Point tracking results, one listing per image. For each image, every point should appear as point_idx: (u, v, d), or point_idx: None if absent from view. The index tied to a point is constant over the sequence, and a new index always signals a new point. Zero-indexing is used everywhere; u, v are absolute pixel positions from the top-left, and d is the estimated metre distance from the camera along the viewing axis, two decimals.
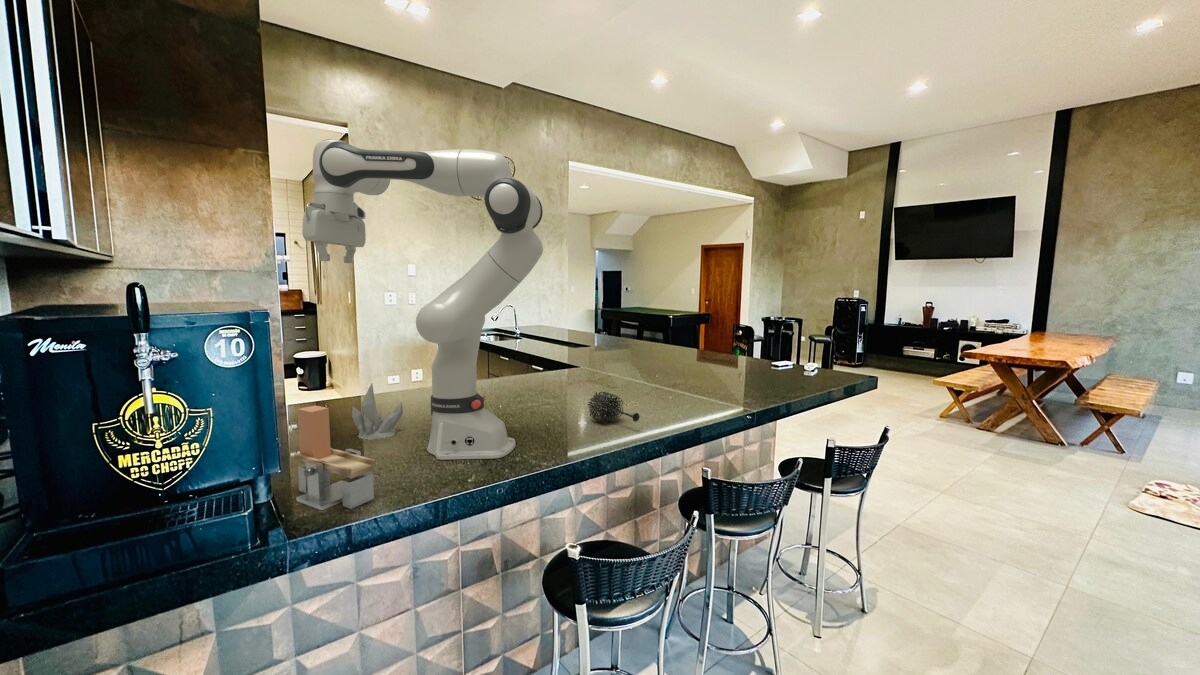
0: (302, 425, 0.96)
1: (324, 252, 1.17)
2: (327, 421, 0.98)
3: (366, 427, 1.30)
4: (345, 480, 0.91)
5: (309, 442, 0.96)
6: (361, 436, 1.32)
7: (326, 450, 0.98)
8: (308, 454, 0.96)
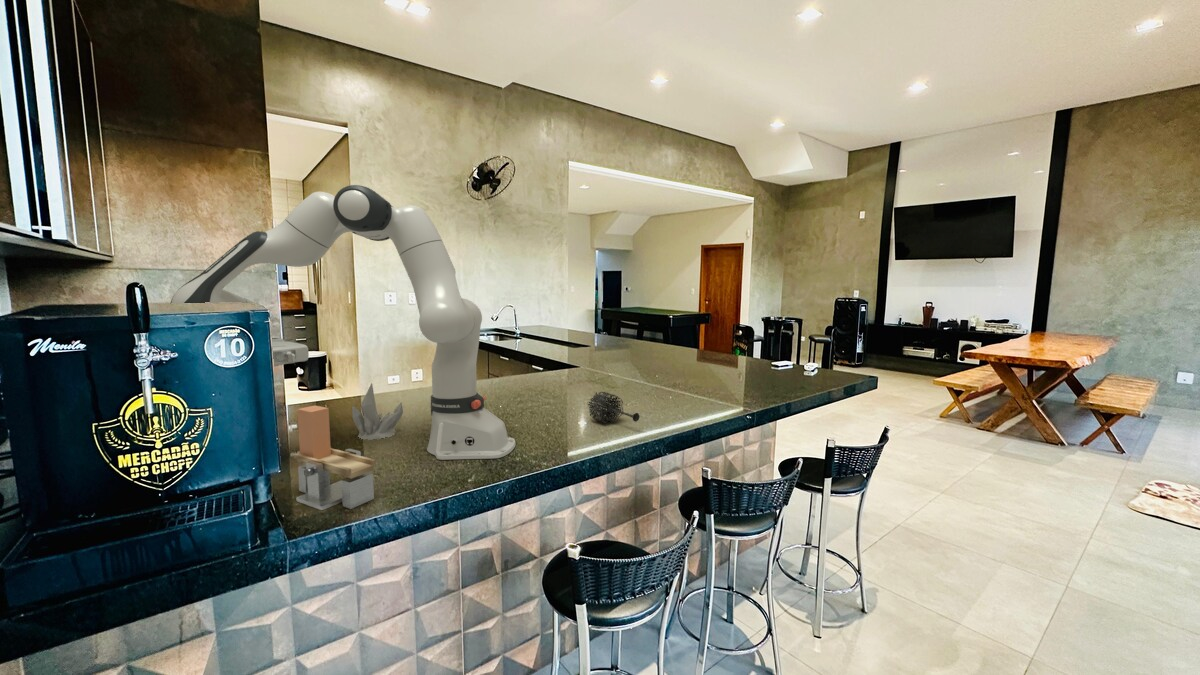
0: (302, 425, 0.96)
1: None
2: (327, 421, 0.98)
3: (366, 427, 1.30)
4: (345, 480, 0.91)
5: (309, 442, 0.96)
6: (361, 436, 1.32)
7: (326, 450, 0.98)
8: (308, 454, 0.96)
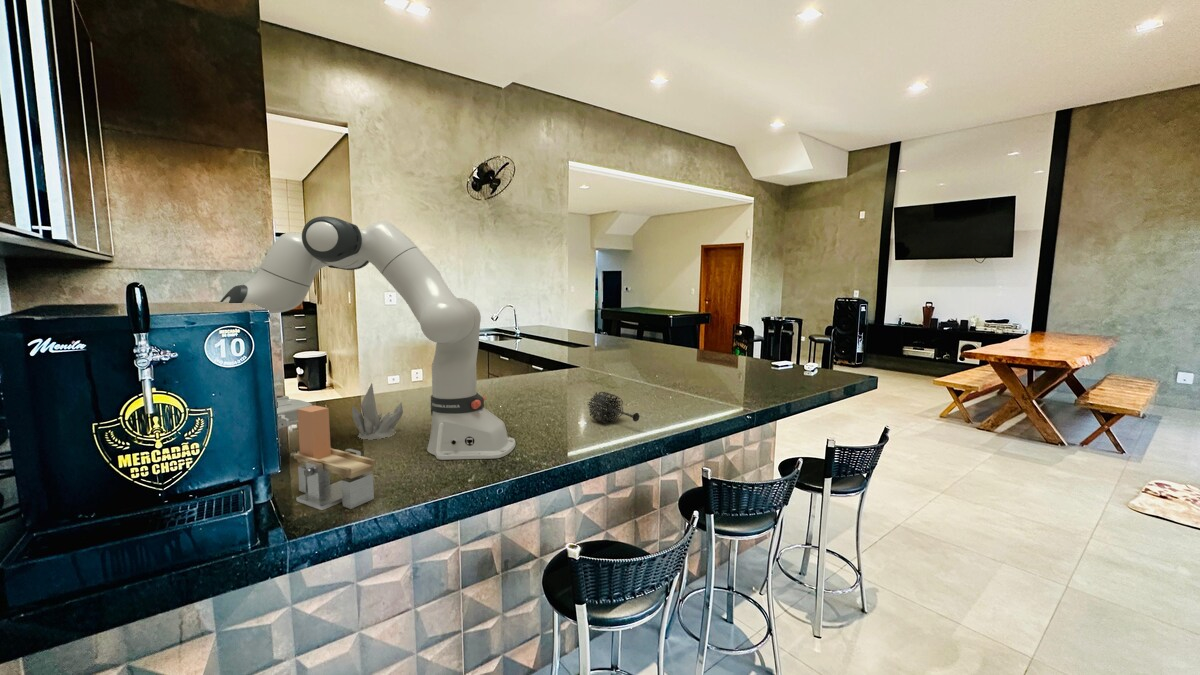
0: (302, 425, 0.96)
1: None
2: (327, 421, 0.98)
3: (366, 427, 1.30)
4: (345, 480, 0.91)
5: (309, 442, 0.96)
6: (361, 436, 1.32)
7: (326, 450, 0.98)
8: (308, 454, 0.96)
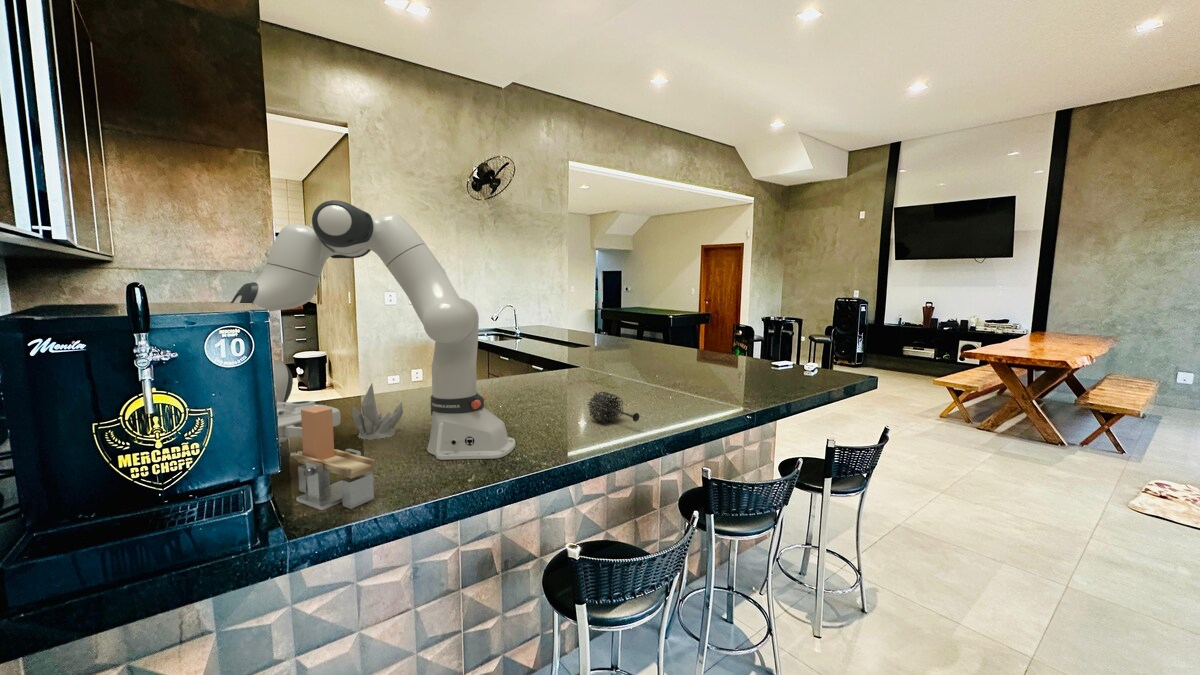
0: (305, 426, 0.96)
1: (296, 428, 0.98)
2: (331, 422, 0.97)
3: (366, 427, 1.30)
4: (345, 480, 0.91)
5: (313, 443, 0.95)
6: (361, 436, 1.32)
7: (330, 451, 0.97)
8: (311, 455, 0.96)
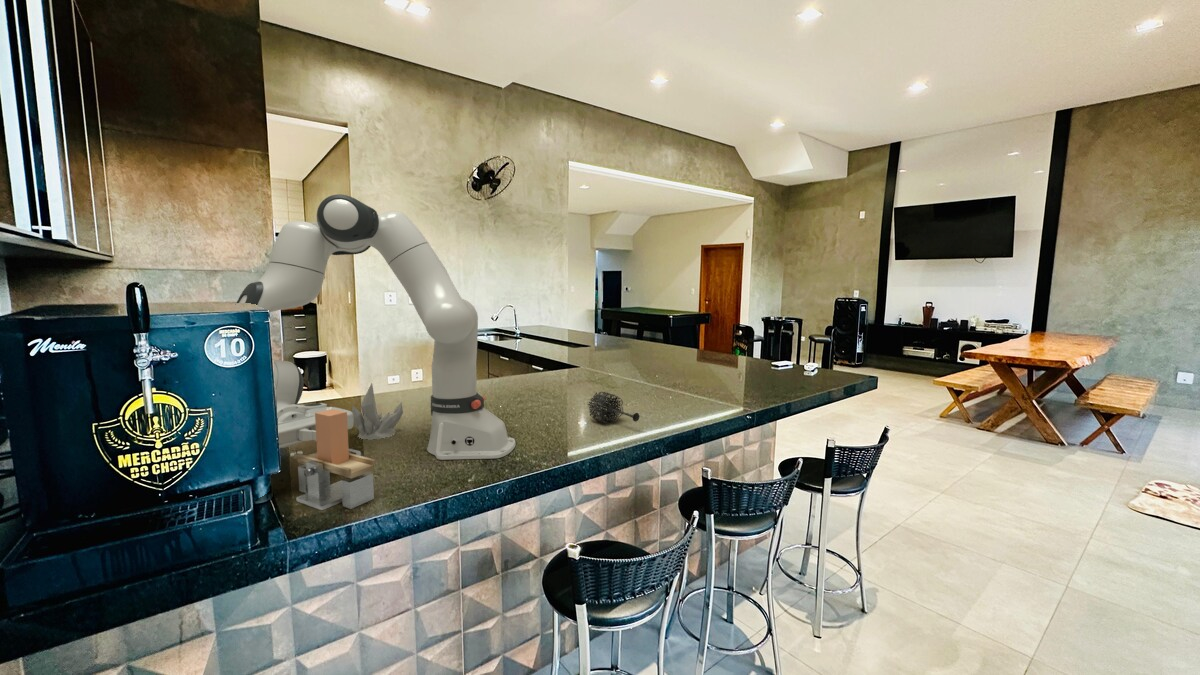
0: (320, 429, 0.94)
1: (310, 432, 0.96)
2: (345, 425, 0.95)
3: (366, 427, 1.30)
4: (345, 480, 0.91)
5: (327, 447, 0.93)
6: (361, 436, 1.32)
7: (344, 455, 0.95)
8: (326, 459, 0.94)
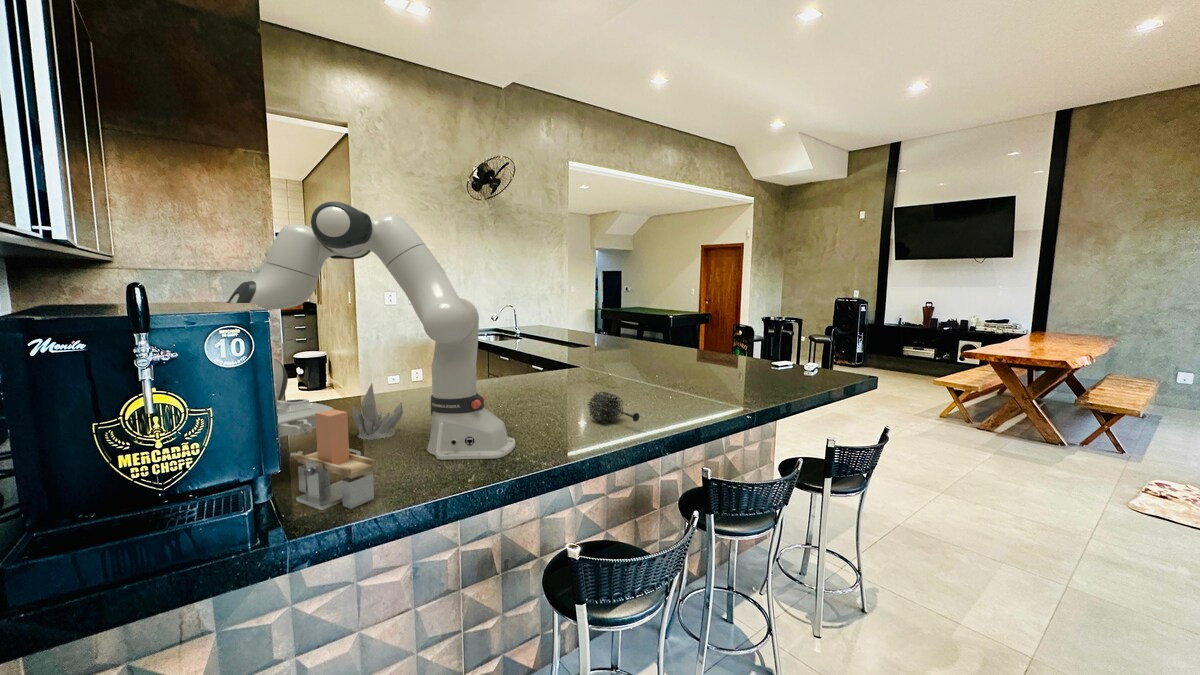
0: (320, 429, 0.94)
1: (290, 426, 0.98)
2: (346, 425, 0.95)
3: (366, 427, 1.30)
4: (345, 480, 0.91)
5: (327, 447, 0.93)
6: (361, 436, 1.32)
7: (345, 455, 0.95)
8: (326, 459, 0.94)
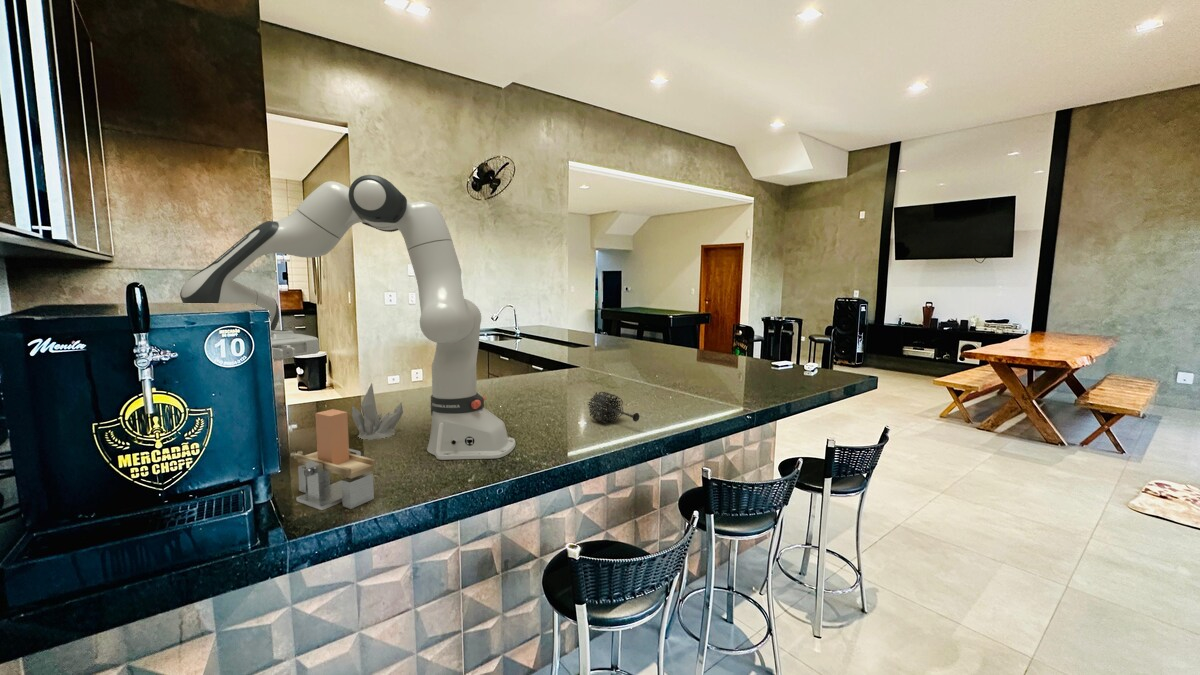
0: (320, 429, 0.94)
1: (273, 349, 0.99)
2: (346, 425, 0.95)
3: (366, 427, 1.30)
4: (345, 480, 0.91)
5: (327, 447, 0.93)
6: (361, 436, 1.32)
7: (345, 455, 0.95)
8: (326, 459, 0.94)
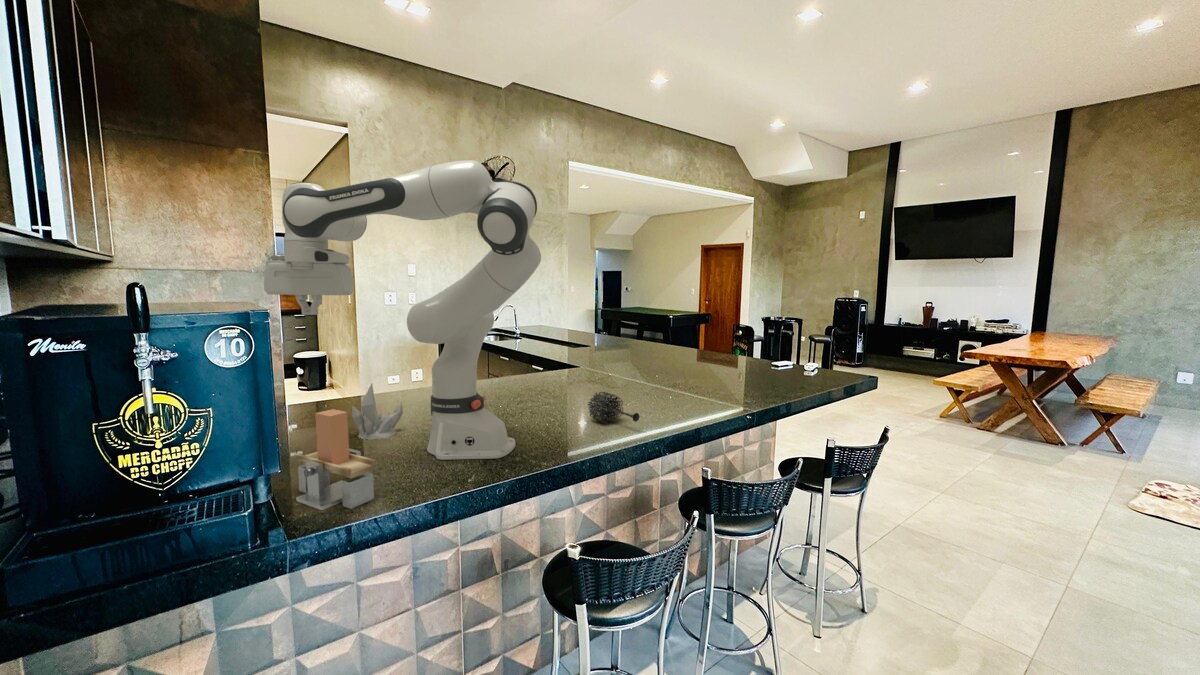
0: (320, 429, 0.94)
1: None
2: (346, 425, 0.95)
3: (366, 427, 1.30)
4: (345, 480, 0.91)
5: (327, 447, 0.93)
6: (361, 436, 1.32)
7: (345, 455, 0.95)
8: (326, 459, 0.94)
